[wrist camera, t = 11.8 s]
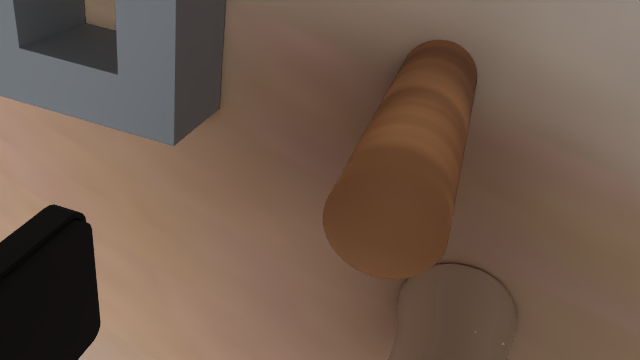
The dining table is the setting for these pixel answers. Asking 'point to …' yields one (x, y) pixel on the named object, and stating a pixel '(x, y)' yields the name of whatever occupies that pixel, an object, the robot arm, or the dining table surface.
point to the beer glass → (454, 316)
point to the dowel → (406, 168)
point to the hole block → (116, 63)
